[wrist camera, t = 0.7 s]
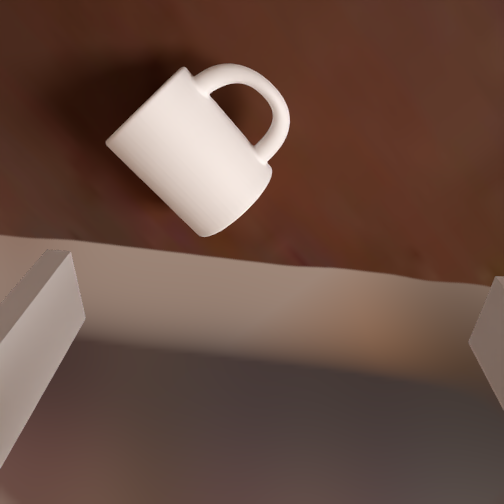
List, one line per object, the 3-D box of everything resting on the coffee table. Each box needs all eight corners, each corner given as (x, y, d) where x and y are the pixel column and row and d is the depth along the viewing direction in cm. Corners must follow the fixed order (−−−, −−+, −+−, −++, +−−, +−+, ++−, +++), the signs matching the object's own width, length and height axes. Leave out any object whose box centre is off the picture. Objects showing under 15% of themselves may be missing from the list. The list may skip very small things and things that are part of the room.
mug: (206, 207, 40) (191, 254, 33) (124, 123, 36) (89, 157, 29) (312, 124, 35) (320, 158, 29) (231, 18, 32) (218, 29, 25)
